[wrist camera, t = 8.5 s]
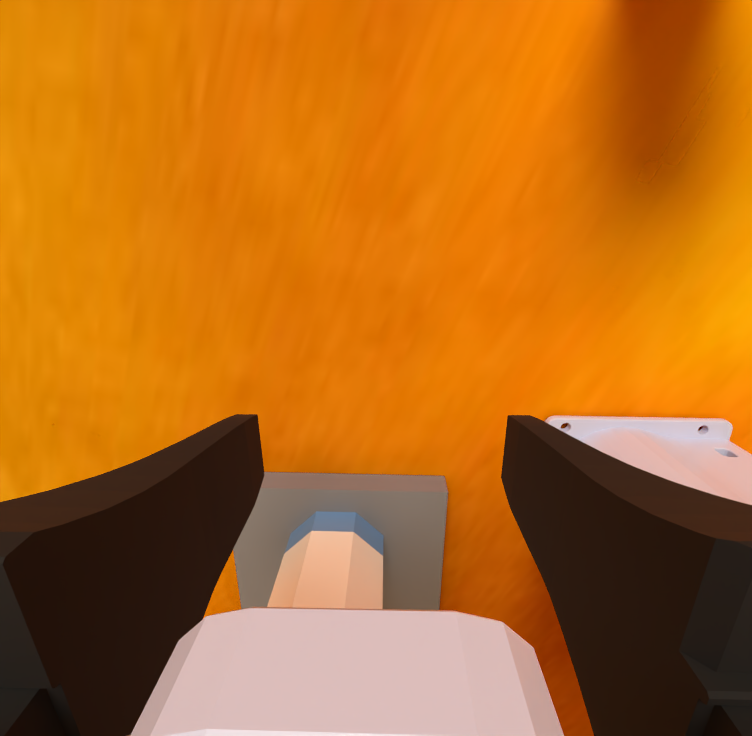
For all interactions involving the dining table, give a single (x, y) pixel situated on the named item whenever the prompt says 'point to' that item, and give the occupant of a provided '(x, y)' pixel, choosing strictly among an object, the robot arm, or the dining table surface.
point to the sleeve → (331, 564)
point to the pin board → (375, 505)
